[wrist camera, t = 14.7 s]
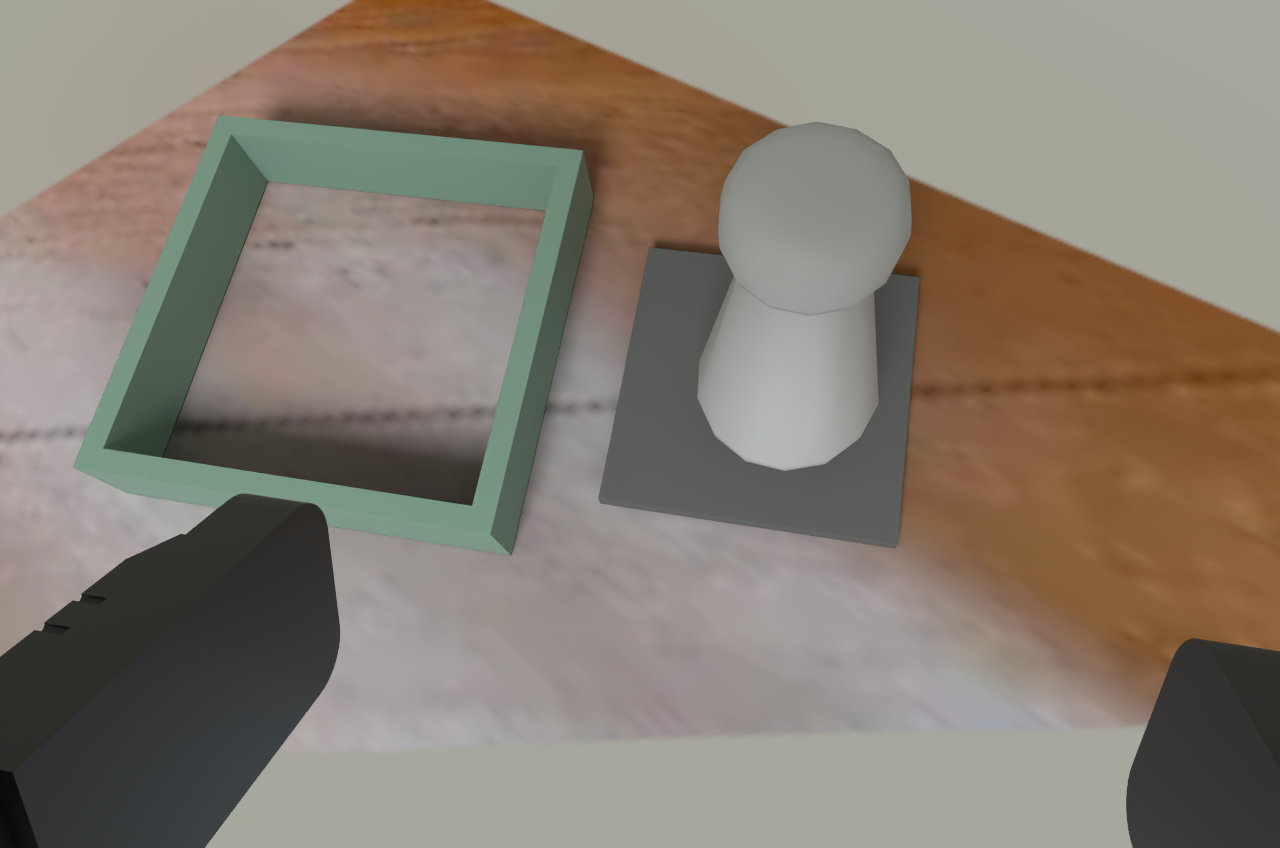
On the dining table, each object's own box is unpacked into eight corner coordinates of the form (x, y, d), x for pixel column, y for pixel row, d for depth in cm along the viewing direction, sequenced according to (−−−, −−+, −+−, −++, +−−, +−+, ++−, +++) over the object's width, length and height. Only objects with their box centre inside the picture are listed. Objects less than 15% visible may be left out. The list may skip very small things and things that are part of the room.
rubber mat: (916, 285, 33) (919, 277, 33) (894, 548, 30) (898, 544, 29) (650, 255, 35) (649, 247, 34) (600, 503, 31) (598, 498, 31)
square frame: (593, 198, 36) (583, 150, 33) (511, 555, 31) (490, 534, 28) (256, 163, 38) (219, 115, 35) (127, 492, 33) (72, 467, 30)
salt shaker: (845, 323, 32) (920, 54, 20) (886, 472, 30) (997, 273, 18) (684, 351, 32) (663, 102, 20) (714, 502, 30) (710, 325, 18)
